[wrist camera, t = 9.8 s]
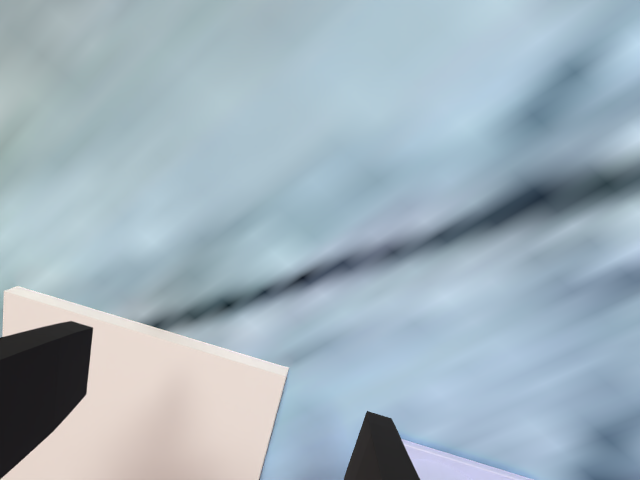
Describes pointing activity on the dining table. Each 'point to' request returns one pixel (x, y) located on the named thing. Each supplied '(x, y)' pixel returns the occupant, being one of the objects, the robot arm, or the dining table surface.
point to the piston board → (151, 403)
